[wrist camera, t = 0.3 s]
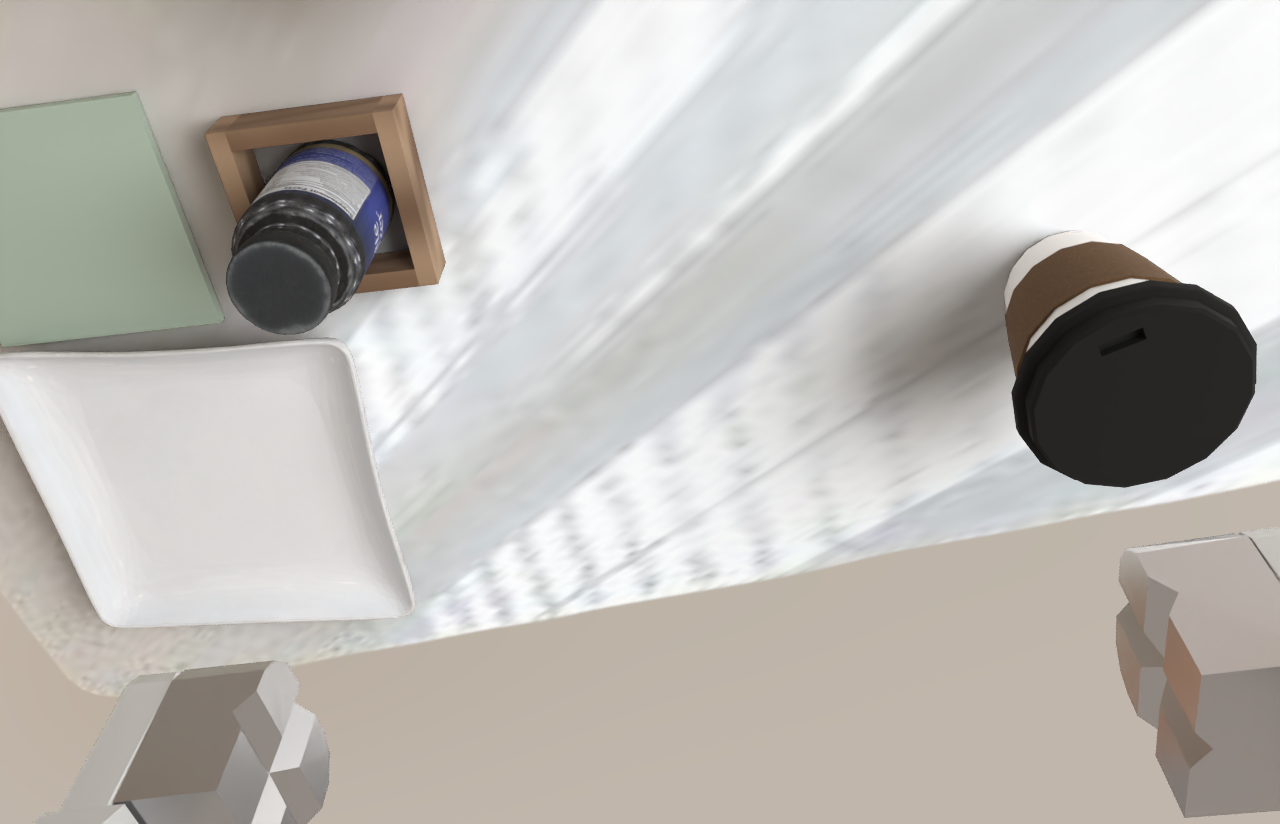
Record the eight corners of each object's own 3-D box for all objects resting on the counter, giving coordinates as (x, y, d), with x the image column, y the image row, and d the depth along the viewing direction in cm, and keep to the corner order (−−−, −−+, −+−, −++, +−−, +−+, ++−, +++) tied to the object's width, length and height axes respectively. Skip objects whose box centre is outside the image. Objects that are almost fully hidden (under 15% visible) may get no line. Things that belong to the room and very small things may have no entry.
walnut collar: (221, 116, 56) (204, 134, 54) (402, 93, 55) (392, 110, 53) (279, 281, 61) (266, 303, 59) (445, 262, 60) (437, 283, 58)
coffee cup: (933, 242, 59) (988, 359, 49) (1139, 151, 56) (1241, 256, 46) (997, 394, 65) (1058, 527, 55) (1187, 318, 62) (1289, 444, 52)
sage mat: (-107, 123, 56) (-114, 127, 56) (136, 91, 55) (131, 95, 55) (7, 342, 64) (2, 347, 63) (224, 317, 62) (221, 322, 62)
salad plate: (122, 599, 75) (101, 636, 73) (-3, 329, 64) (-34, 360, 61) (429, 585, 74) (420, 621, 71) (360, 307, 62) (346, 337, 60)
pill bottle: (368, 264, 61) (317, 371, 51) (262, 211, 59) (189, 311, 50) (415, 172, 58) (368, 269, 48) (304, 113, 56) (234, 202, 47)
